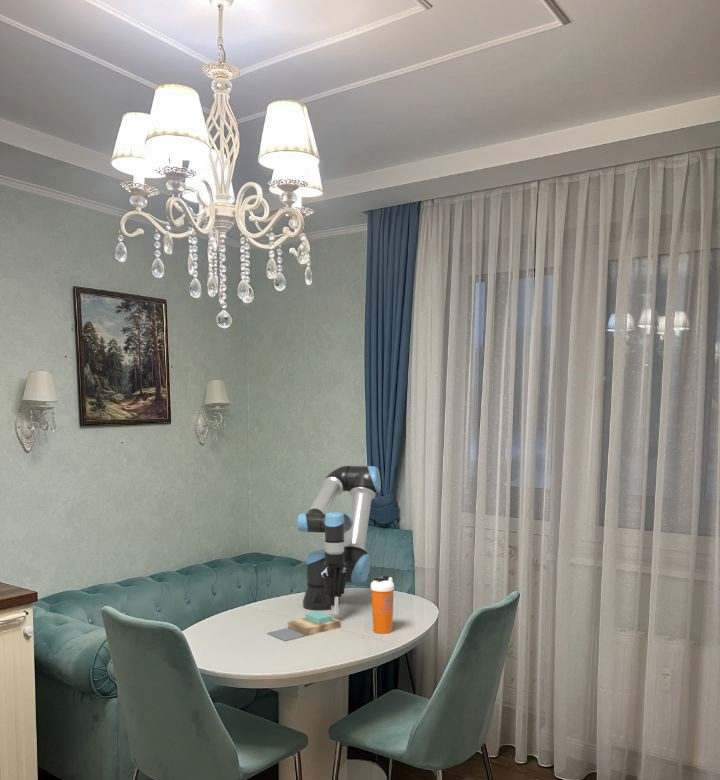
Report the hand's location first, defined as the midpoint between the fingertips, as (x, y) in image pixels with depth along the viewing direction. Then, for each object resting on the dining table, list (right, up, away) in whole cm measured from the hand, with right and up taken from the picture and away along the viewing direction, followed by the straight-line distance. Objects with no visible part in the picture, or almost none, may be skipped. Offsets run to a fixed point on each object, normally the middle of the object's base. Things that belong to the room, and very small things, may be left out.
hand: (334, 613), depth 277 cm
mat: (-18, -3, -15) cm, 23 cm away
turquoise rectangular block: (-6, -1, -5) cm, 8 cm away
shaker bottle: (+18, -3, -11) cm, 22 cm away
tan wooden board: (-8, -4, -6) cm, 10 cm away
